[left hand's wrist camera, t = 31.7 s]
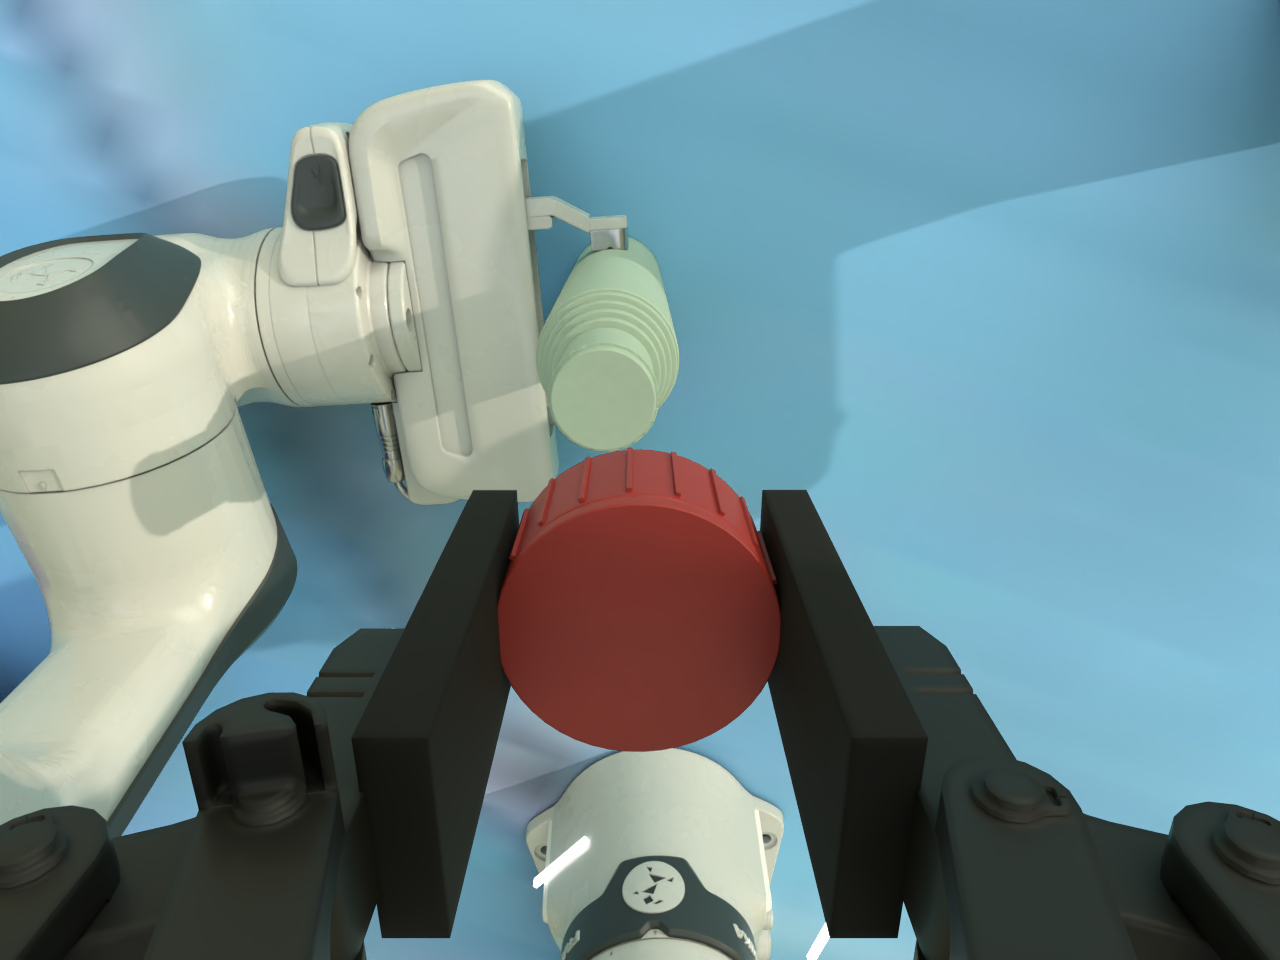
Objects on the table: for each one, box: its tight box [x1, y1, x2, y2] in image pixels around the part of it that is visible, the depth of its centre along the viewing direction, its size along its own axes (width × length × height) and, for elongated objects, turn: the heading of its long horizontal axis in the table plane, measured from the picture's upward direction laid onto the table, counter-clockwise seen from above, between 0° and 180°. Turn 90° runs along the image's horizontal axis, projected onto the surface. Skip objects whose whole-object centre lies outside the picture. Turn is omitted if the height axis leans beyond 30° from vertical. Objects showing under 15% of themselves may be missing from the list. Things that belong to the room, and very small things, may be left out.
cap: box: [497, 448, 781, 752], centre depth 14 cm, size 4×4×2 cm
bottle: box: [536, 237, 679, 452], centre depth 36 cm, size 5×5×24 cm
